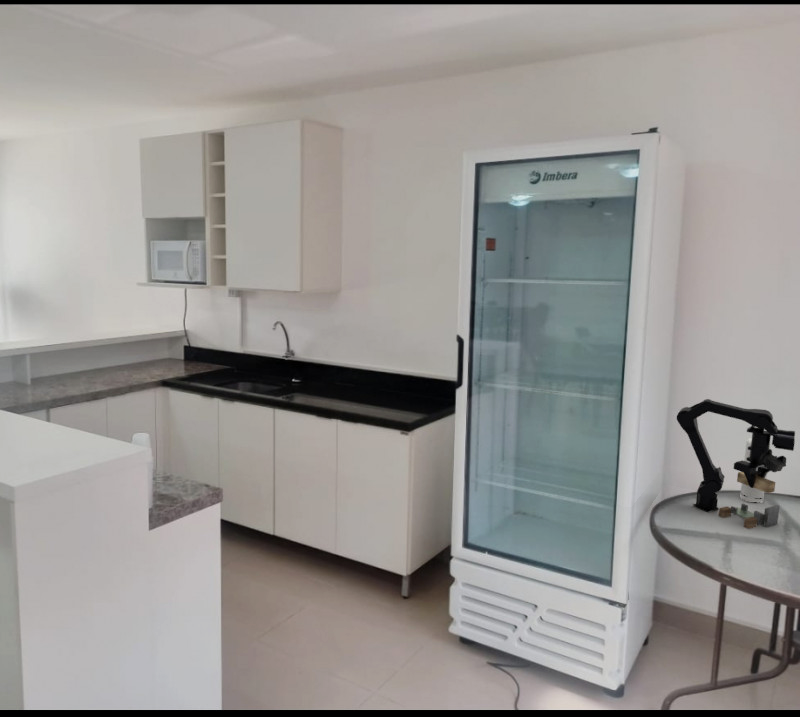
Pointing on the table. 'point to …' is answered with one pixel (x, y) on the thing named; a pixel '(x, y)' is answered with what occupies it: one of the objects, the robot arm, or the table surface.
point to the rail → (758, 483)
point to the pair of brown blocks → (748, 522)
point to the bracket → (759, 514)
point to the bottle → (746, 489)
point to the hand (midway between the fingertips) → (755, 486)
